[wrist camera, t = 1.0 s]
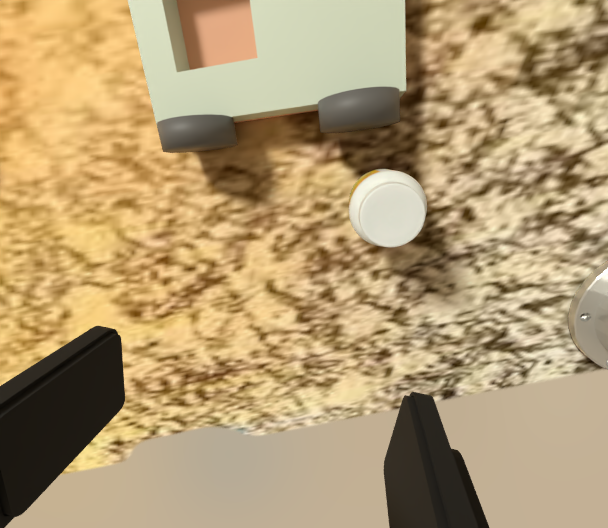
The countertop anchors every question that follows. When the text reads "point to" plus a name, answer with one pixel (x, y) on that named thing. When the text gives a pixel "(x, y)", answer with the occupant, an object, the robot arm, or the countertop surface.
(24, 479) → the robot arm
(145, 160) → the countertop surface
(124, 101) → the countertop surface
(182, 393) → the countertop surface
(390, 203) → the supplement bottle
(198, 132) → the chassis
